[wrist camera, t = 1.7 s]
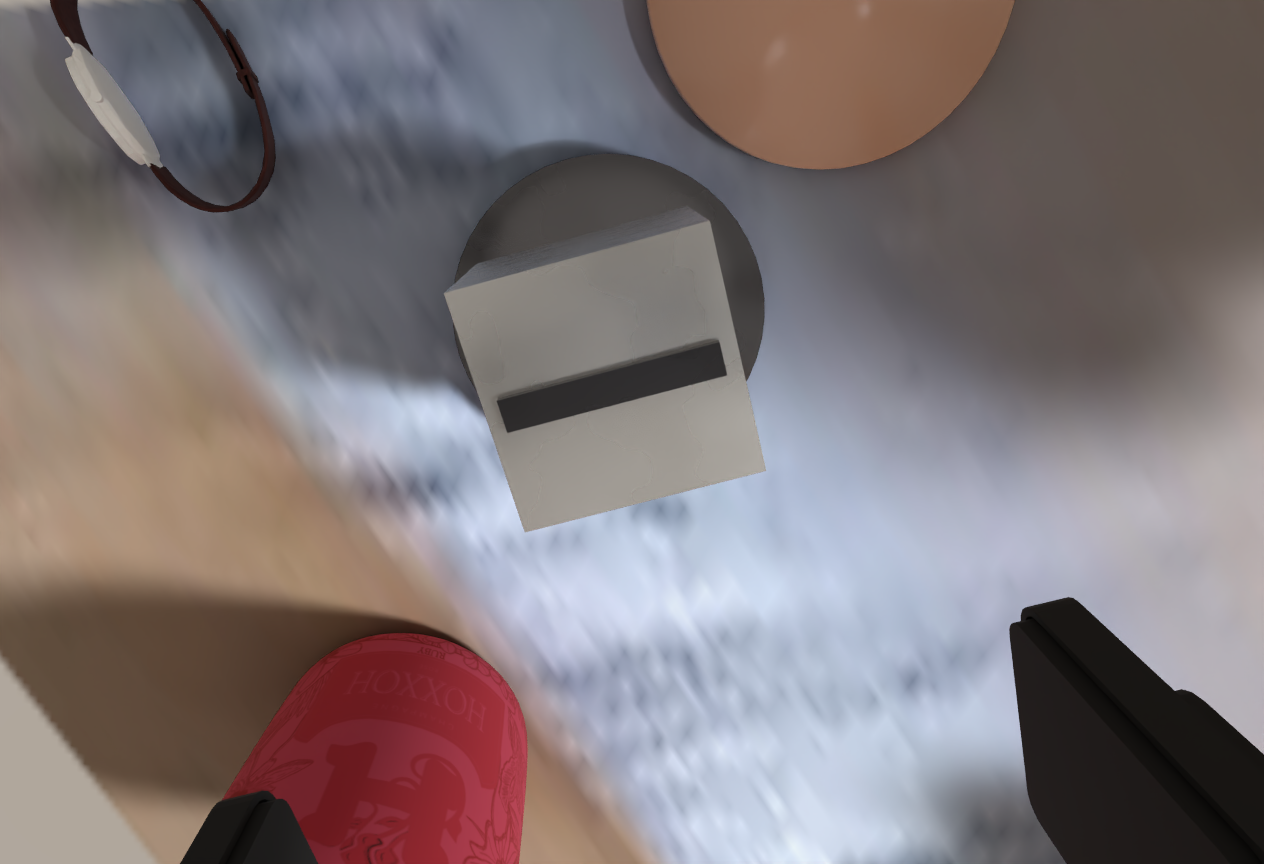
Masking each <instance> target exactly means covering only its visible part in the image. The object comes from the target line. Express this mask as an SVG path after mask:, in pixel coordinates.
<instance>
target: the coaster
mask: <svg viewBox="0 0 1264 864" xmlns="http://www.w3.org/2000/svg"><path fill="white" fill-rule="evenodd" d="M646 2H647V8H648V14H649V20H650V26H651V30H652V33H653V37H654V40H655V44H656V47H657V50H658V53H659V56H660V58H661V60H662V63H663V65H664V67H665V69H666V72H667V74H668V76H669V78H670V79H671V81H672V83H673V84H674V86H675V88H676V90H677V91H678V93H679V95H680V96H681V98H682V99H683V100H684V101H685V103H686V104H687V105H688V106H689V108H690V109H691V110H692V112H693V113H694V114H695V115H696V116H697V117H698V118H699V119H700V120H701V121H702V122H703V123H704V124H705V125H706V126H707V127H708V128H709V129H710V130H711V131H712V132H714V133H715V134H716V135H718V136H719V137H721V138H722V139H723V140H725V141H726V142H727V143H729V144H730V145H732V146H734V147H736V148H738V149H739V150H741V151H743V152H745V153H747V154H749V155H751V156H754V157H756V158H759V159H762V160H764V161H767V162H770V163H774V164H779V165H783V166H788V167H793V168H806V169H819V170H820V169H836V168H845V167H850V166H855V165H860V164H865V163H868V162H871V161H874V160H877V159H880V158H883V157H886V156H888V155H890V154H892V153H894V152H896V151H898V150H900V149H902V148H904V147H906V146H908V145H910V144H912V143H913V142H915V141H916V140H918V139H919V138H921V137H922V136H924V135H925V134H927V133H928V132H930V131H931V130H932V129H933V128H935V127H936V126H937V125H938V124H939V123H940V122H942V121H943V120H944V119H945V118H946V117H948V116H949V115H950V114H951V113H952V112H953V110H954V109H955V108H956V107H957V106H958V105H959V104H960V103H961V102H962V101H963V100H964V99H965V98H966V97H967V95H968V94H969V92H970V91H971V90H972V88H973V87H974V86H975V84H976V83H977V82H978V80H979V79H980V78H981V76H982V75H983V73H984V71H985V70H986V68H987V66H988V64H989V63H990V61H991V59H992V58H993V56H994V54H995V52H996V50H997V48H998V46H999V43H1000V41H1001V39H1002V37H1003V34H1004V32H1005V30H1006V28H1007V24H1008V21H1009V18H1010V15H1011V12H1012V9H1013V5H1014V2H1015V0H646Z"/></svg>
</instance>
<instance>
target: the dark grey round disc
mask: <svg viewBox="0 0 1264 864" xmlns="http://www.w3.org/2000/svg"><path fill="white" fill-rule="evenodd" d="M685 206H688V207H690V208H691V209H693V210H694V211H696V212H697V213H699V214H700V215H702V216H703V217H705V218H706V219H708V220H709V221H710V224H711V228H712V233H713V237H714V242H715V246H716V251H717V255H718V259H719V264H720V268H721V273H722V277H723V282H724V286H725V290H726V295H727V299H728V304H729V308H730V313H731V317H732V322H733V326H734V330H735V335H736V339H737V344H738V348H739V353H740V357H741V361H742V366H743V370H744V375H745V379H746V381H747V379H748V378H749V376H750V373H751V371H752V368H753V366H754V363H755V361H756V358H757V355H758V351H759V347H760V344H761V340H762V334H763V325H764V293H763V286H762V278H761V274H760V271H759V267H758V264H757V260H756V257H755V255H754V252H753V250H752V248H751V245H750V243H749V241H748V239H747V237H746V235H745V234H744V232H743V230H742V229H741V227H740V225H739V224H738V222H737V220H736V219H735V218H734V217H733V215H732V214H731V213H730V212H729V210H728V209H727V208H726V207H725V205H724V204H723V203H722V202H721V201H720V200H718V199H717V198H716V197H715V196H714V195H713V194H712V193H711V192H710V191H709V190H708V189H706V188H705V187H704V186H702V185H701V184H699V183H698V182H697V181H695V180H694V179H692V178H691V177H689V176H687V175H685V174H684V173H682V172H680V171H678V170H676V169H674V168H672V167H670V166H667V165H664V164H661V163H659V162H656V161H653V160H650V159H645V158H640V157H636V156H631V155H621V154H594V155H585V156H580V157H575V158H570V159H566V160H563V161H560V162H557V163H555V164H552V165H549V166H546V167H544V168H542V169H540V170H538V171H536V172H534V173H532V174H531V175H529V176H527V177H525V178H524V179H522V180H521V181H520V182H518V183H517V184H515V185H514V186H512V187H511V188H510V189H508V190H507V191H506V192H505V193H504V194H503V195H502V196H501V197H500V198H499V199H498V200H497V201H496V202H495V203H494V204H493V205H492V206H491V207H490V208H489V210H488V211H487V212H486V213H485V215H484V216H483V217H482V218H481V220H480V221H479V223H478V224H477V226H476V228H475V229H474V231H473V233H472V234H471V236H470V238H469V240H468V242H467V244H466V247H465V249H464V251H463V254H462V256H461V259H460V262H459V266H458V270H457V273H456V277H455V283H456V282H457V281H458V280H459V279H460V278H461V277H462V276H464V275H465V274H466V273H467V272H468V271H469V270H470V269H471V268H472V267H474V266H475V265H476V264H477V263H481V262H484V261H488V260H492V259H495V258H499V257H503V256H506V255H510V254H514V253H517V252H521V251H525V250H528V249H532V248H536V247H539V246H543V245H546V244H550V243H554V242H557V241H561V240H565V239H568V238H572V237H576V236H579V235H583V234H587V233H590V232H594V231H598V230H601V229H605V228H609V227H612V226H616V225H619V224H623V223H627V222H630V221H634V220H638V219H641V218H645V217H649V216H652V215H656V214H660V213H663V212H667V211H671V210H674V209H678V208H682V207H685ZM453 326H454V333H455V340H456V343H457V347H458V351H459V354H460V358H461V361H462V363H463V365H464V368H465V370H466V373H467V375H468V377H469V379H470V381H471V382H472V384H473V386H474V388H475V389H476V387H475V384H474V381H473V378H472V375H471V372H470V369H469V366H468V363H467V361H466V358H465V355H464V352H463V349H462V346H461V343H460V340H459V337H458V334H457V331H456V328H455V325H454V322H453ZM476 391H477V390H476Z"/></svg>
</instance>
